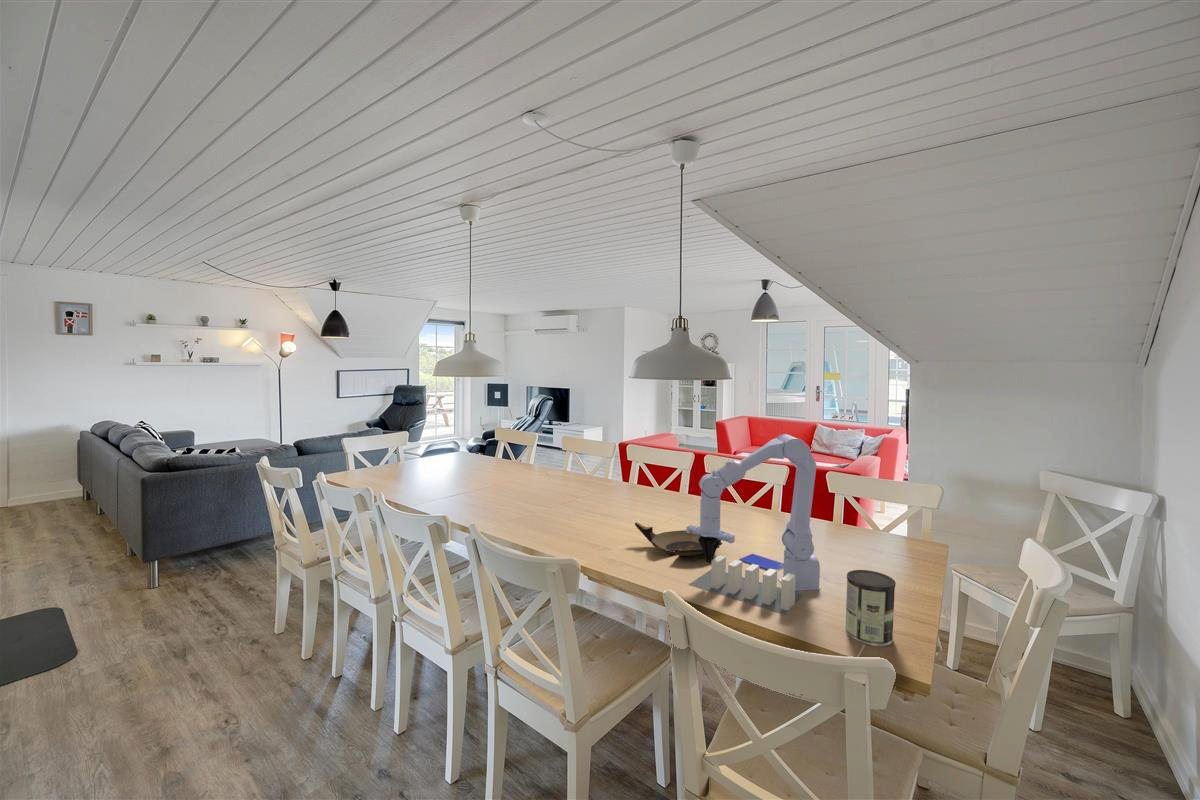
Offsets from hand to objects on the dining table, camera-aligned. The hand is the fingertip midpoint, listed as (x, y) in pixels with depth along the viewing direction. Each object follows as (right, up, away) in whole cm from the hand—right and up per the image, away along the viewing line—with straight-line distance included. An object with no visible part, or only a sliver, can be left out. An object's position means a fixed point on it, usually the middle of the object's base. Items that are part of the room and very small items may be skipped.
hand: (709, 561), depth 151 cm
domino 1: (+2, -7, -1) cm, 7 cm away
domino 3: (+10, -7, -8) cm, 14 cm away
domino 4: (+14, -7, -11) cm, 19 cm away
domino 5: (+18, -8, -14) cm, 24 cm away
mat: (+9, -7, -4) cm, 12 cm away
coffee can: (+32, -9, -28) cm, 43 cm away
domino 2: (+6, -7, -5) cm, 10 cm away
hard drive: (+21, -7, +15) cm, 27 cm away
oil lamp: (-5, -5, +28) cm, 29 cm away
